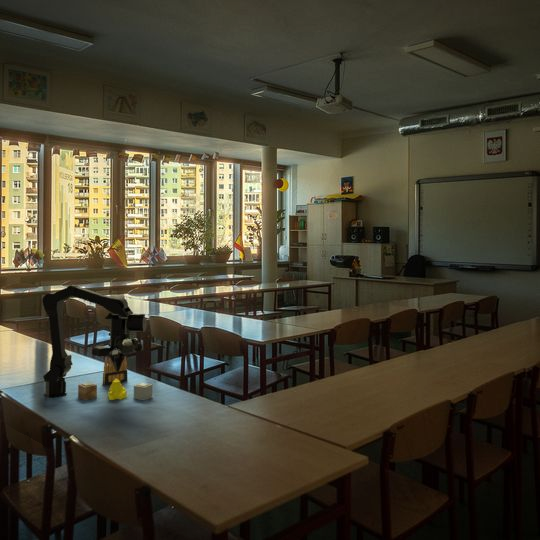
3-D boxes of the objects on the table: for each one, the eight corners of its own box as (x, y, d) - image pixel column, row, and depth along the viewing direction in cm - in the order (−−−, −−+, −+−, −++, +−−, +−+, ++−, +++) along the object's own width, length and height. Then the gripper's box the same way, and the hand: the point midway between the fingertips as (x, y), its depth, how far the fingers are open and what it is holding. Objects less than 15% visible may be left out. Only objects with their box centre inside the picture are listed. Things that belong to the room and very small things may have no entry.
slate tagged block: (144, 400, 200) (144, 386, 200) (133, 398, 202) (133, 385, 202) (152, 397, 205) (152, 383, 205) (141, 395, 207) (141, 382, 207)
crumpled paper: (129, 395, 206) (130, 376, 206) (117, 401, 199) (117, 380, 198) (117, 393, 208) (117, 374, 208) (104, 399, 201) (104, 379, 200)
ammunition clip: (104, 385, 218) (105, 357, 218) (102, 384, 220) (102, 356, 219) (127, 381, 226) (128, 353, 225) (125, 380, 227) (125, 353, 227)
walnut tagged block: (84, 400, 198) (84, 386, 198) (78, 397, 202) (78, 383, 201) (96, 397, 202) (97, 384, 202) (90, 394, 205) (90, 381, 205)
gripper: (107, 336, 190) (106, 379, 190) (150, 331, 203) (150, 371, 204) (91, 332, 197) (90, 373, 198) (134, 327, 211) (133, 365, 212)
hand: (117, 370), depth 203 cm, fingers closed
